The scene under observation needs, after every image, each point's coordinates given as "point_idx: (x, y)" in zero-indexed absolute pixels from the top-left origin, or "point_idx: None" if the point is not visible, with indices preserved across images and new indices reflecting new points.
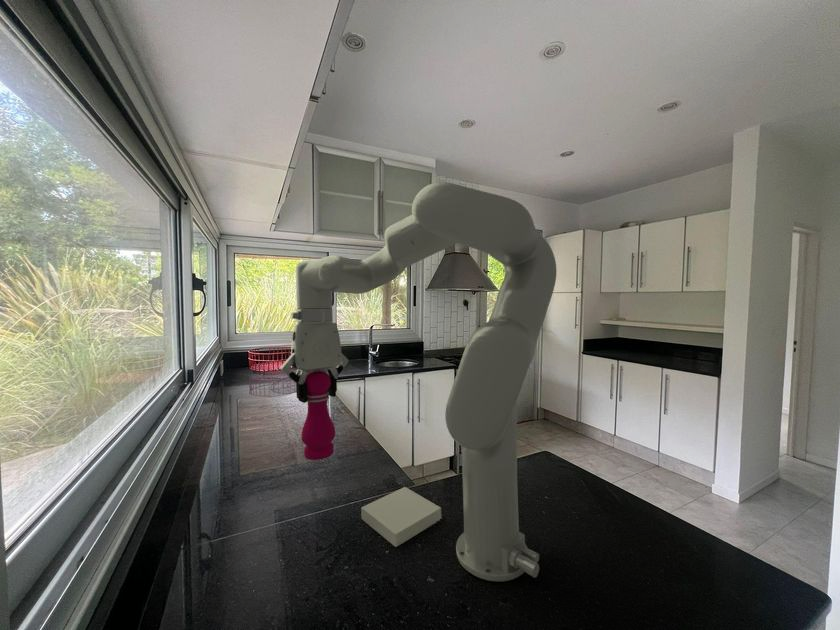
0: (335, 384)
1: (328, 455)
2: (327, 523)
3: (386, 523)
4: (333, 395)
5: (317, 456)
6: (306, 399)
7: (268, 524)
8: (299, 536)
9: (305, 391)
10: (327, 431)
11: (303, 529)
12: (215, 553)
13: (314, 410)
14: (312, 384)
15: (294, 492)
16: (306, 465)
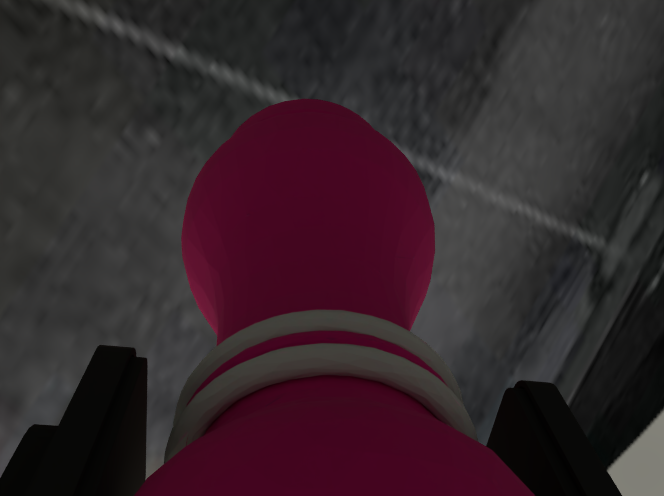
0: (38, 472)
1: (296, 100)
2: (330, 10)
3: None
4: (132, 359)
5: (365, 122)
6: (537, 399)
7: (461, 187)
8: (441, 30)
9: (595, 486)
10: (308, 135)
11: (408, 56)
12: (631, 175)
13: (399, 305)
14: None
15: None
16: (156, 439)
